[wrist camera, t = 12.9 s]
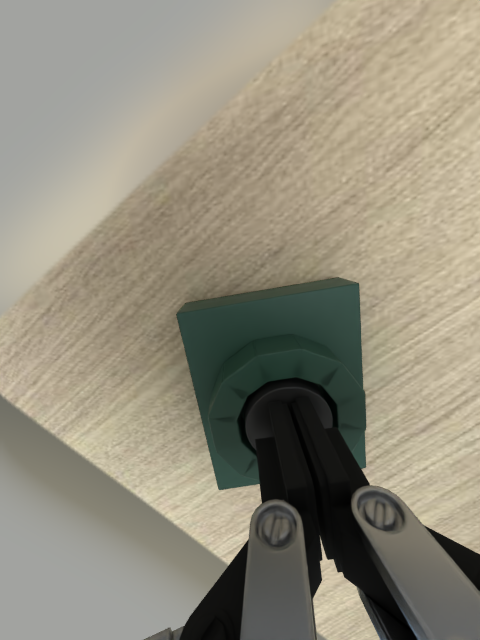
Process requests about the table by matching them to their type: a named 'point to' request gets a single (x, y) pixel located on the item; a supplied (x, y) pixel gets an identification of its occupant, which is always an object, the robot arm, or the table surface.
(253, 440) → the button
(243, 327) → the box
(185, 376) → the table surface
